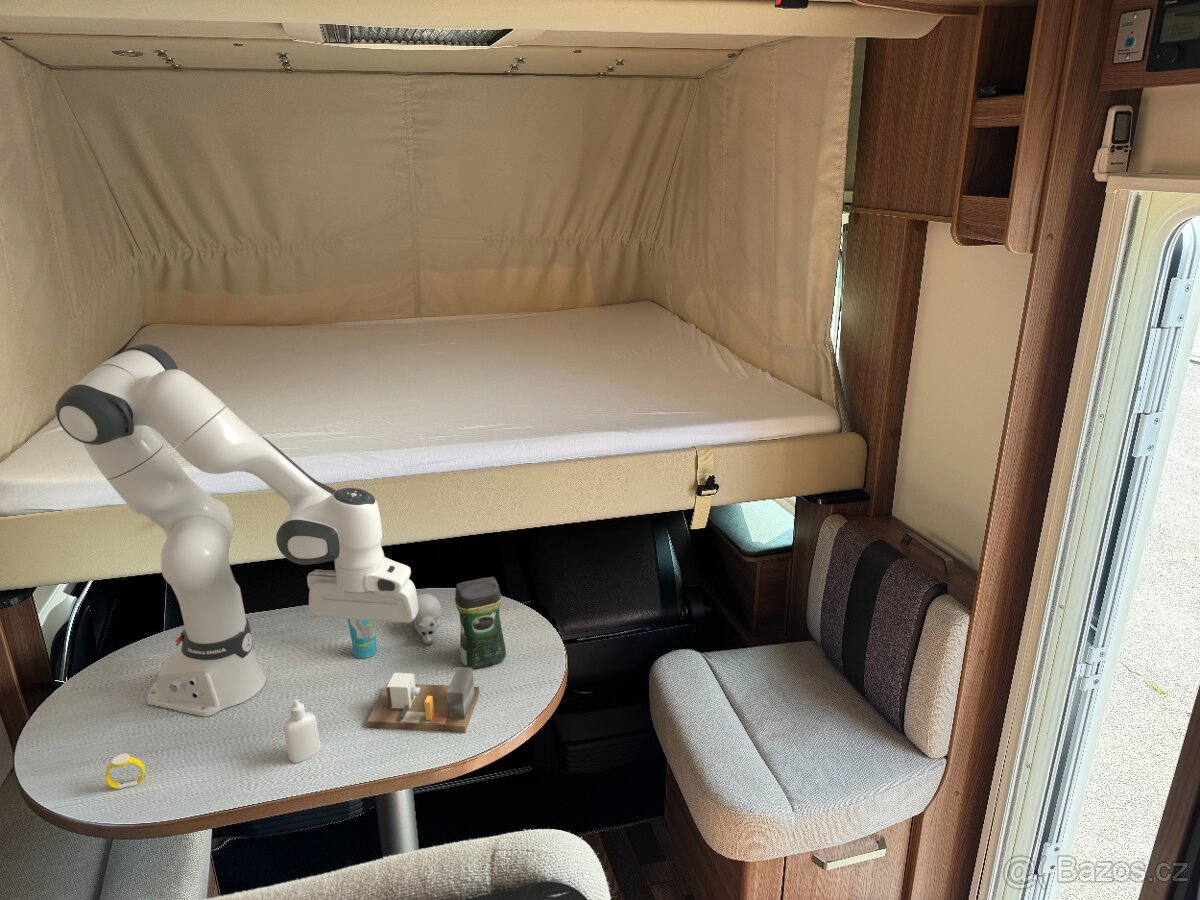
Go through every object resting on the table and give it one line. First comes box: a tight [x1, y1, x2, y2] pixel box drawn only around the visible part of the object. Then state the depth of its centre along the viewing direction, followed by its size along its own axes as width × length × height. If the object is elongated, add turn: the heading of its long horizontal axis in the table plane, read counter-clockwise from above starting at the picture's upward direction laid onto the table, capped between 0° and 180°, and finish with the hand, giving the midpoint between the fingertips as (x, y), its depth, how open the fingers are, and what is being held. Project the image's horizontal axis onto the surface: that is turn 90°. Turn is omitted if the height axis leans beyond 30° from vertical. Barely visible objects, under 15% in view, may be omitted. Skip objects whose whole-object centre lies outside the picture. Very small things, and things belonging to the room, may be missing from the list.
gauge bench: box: [366, 666, 480, 734], centre depth 167 cm, size 19×12×8 cm, turn 85°
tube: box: [346, 619, 378, 659], centre depth 183 cm, size 7×5×19 cm, turn 123°
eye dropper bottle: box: [283, 698, 322, 764], centre depth 155 cm, size 4×6×12 cm
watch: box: [104, 752, 146, 790], centre depth 149 cm, size 6×3×6 cm, turn 109°
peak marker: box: [424, 696, 434, 720], centre depth 163 cm, size 1×2×4 cm, turn 174°
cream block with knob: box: [387, 672, 421, 719], centre depth 165 cm, size 6×8×5 cm
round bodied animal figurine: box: [412, 593, 442, 645], centre depth 192 cm, size 7×12×8 cm, turn 12°
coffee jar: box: [454, 576, 507, 669], centre depth 181 cm, size 10×8×19 cm
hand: (366, 636), depth 163 cm, fingers closed
